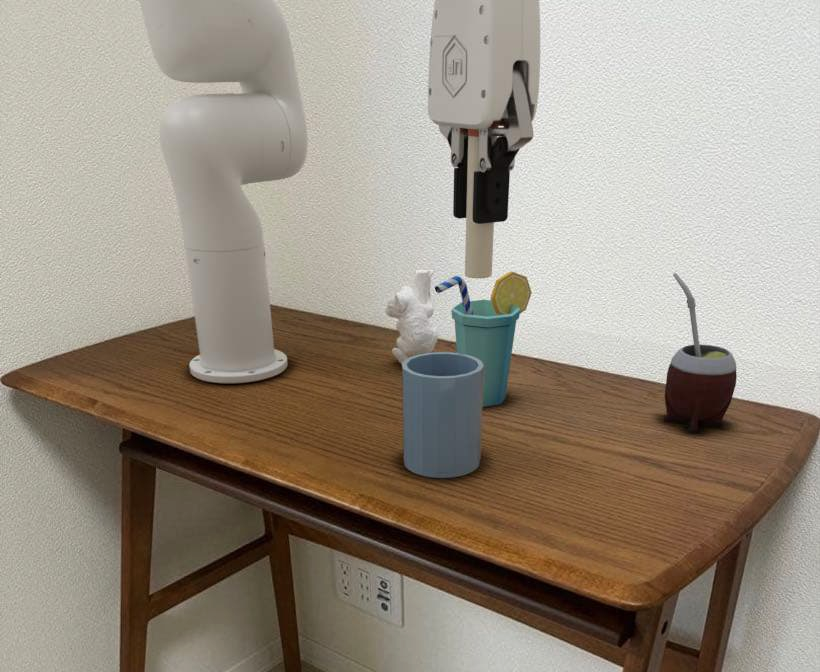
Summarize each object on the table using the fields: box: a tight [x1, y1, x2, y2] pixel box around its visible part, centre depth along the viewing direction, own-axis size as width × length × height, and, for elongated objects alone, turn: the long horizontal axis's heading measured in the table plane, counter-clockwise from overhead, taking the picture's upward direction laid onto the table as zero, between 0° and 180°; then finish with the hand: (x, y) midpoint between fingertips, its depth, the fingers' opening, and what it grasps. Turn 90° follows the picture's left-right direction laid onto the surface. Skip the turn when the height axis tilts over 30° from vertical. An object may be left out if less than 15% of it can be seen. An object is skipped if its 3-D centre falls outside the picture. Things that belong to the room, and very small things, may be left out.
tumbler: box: [401, 351, 484, 479], centre depth 79 cm, size 8×8×10 cm
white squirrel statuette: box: [384, 268, 439, 365], centre depth 105 cm, size 8×7×12 cm
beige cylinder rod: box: [464, 121, 500, 279], centre depth 69 cm, size 2×2×14 cm
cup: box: [434, 270, 532, 408], centre depth 93 cm, size 14×8×15 cm, turn 134°
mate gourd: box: [663, 272, 737, 435], centre depth 86 cm, size 8×8×15 cm
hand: (480, 217), depth 71 cm, fingers closed on beige cylinder rod, 2 cm apart
